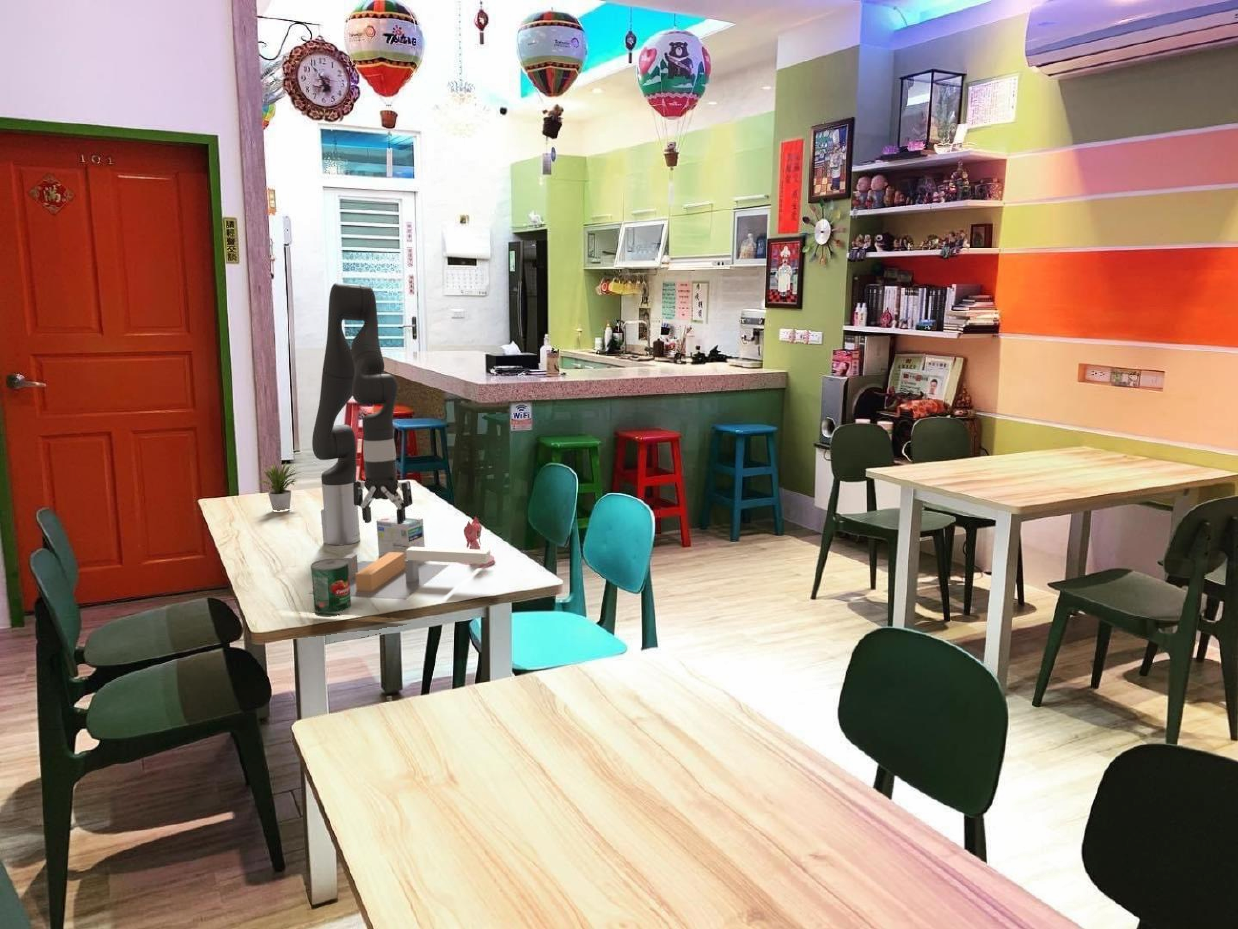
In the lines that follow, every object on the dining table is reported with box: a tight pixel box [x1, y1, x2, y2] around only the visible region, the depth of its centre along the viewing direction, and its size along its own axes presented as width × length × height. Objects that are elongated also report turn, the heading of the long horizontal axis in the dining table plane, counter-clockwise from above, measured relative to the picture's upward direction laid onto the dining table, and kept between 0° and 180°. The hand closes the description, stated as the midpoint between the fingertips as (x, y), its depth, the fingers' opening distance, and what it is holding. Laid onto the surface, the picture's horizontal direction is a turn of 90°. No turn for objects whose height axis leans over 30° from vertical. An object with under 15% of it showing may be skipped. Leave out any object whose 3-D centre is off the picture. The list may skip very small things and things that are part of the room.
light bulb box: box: [375, 515, 426, 560], centre depth 237 cm, size 11×7×11 cm, turn 65°
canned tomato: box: [310, 557, 352, 618], centre depth 198 cm, size 8×8×11 cm
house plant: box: [259, 461, 303, 511], centre depth 290 cm, size 14×14×16 cm
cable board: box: [308, 553, 449, 600], centre depth 217 cm, size 24×26×6 cm
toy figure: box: [459, 516, 495, 569], centre depth 232 cm, size 10×10×12 cm
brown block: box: [355, 552, 406, 591], centre depth 217 cm, size 4×18×4 cm, turn 169°
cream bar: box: [406, 546, 491, 565], centre depth 213 cm, size 20×3×2 cm, turn 79°
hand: (384, 522), depth 218 cm, fingers open, 8 cm apart
